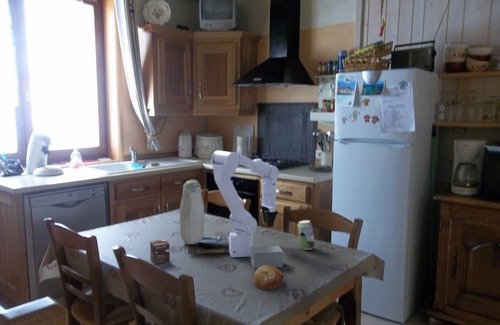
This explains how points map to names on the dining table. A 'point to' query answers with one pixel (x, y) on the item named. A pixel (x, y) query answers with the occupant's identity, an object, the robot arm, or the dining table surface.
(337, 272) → the dining table surface
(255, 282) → the bread roll
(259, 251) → the light grey cuboid
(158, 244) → the box
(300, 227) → the beverage can
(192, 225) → the white tall rounded cylinder
